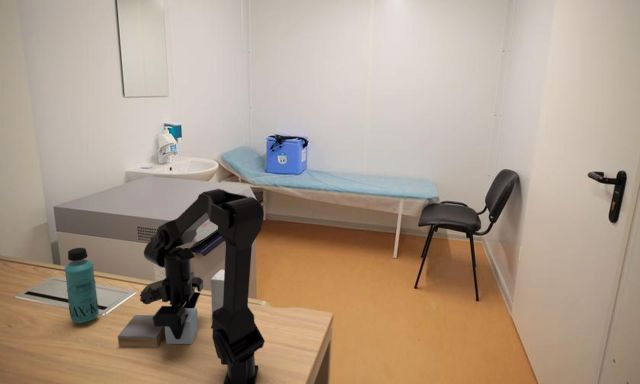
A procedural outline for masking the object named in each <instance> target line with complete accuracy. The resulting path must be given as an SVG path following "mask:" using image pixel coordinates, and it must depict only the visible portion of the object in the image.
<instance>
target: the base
mask: <svg viewBox="0 0 640 384" xmlns="http://www.w3.org/2000/svg"><path fill="white" fill-rule="evenodd" d="M154 315H155V314H154ZM154 315H153V314H134V315H133V316H132V318H131V319H130V320H129V321H128V323H127V324H126V325H125V326H124V327H123V329H122V330H121V331H120V333H119V334H118V335H117V341H118V348H132V349H133V348H141V349H143V348H144V349H158V348H159V346H160V344H161V343H162V341H163V340H164V338H166V336H165V327H162V326H154V325H153V316H154Z"/></svg>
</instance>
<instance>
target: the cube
mask: <svg viewBox="0 0 640 384" xmlns="http://www.w3.org/2000/svg"><path fill="white" fill-rule="evenodd" d="M184 309H185V310H186V314H188V317H187V320H186V323H185V327H184V330H183V333H182V336H181V338H180V339H175V337H174V335H173V333H172V331H171V329H170V327H165V344H167V345H192V344H193V342H194V340H195V338H196V335H197V334H198V332H199V317H198V315H199V313H198V308H196V307H195V308H184Z"/></svg>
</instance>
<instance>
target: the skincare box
mask: <svg viewBox="0 0 640 384" xmlns="http://www.w3.org/2000/svg"><path fill="white" fill-rule="evenodd" d="M224 273H225V269H220V270H219V271H217V272H216V273H215V274H214V275H213V277H212V278H211V279H210V289H211V290H210V294H211V295H210V296H211V315H212V314H213V311H215V310H217V309H219V308H221V307H222V306H223V295H224Z"/></svg>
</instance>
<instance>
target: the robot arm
mask: <svg viewBox="0 0 640 384" xmlns="http://www.w3.org/2000/svg"><path fill="white" fill-rule="evenodd" d="M264 215H265V214H264V207H263V205H262V204H261V203H260V201H258V200H257V199H256V198H255V197H252V196H247V195H244V194H240V193H238V194H237V193H233V192H229V191H227V190H225V189H221V188H215V189H211V190H207V191H203V192H201V193H200V194H198V196H197V198H196V199H195V201H193V202H192V203H191V204H190V205H189V206H188V207H187V208H186V209H185V210H184V211H183V212H182V213H181V214H180V215H179V216H178V217H177V218H175V219H173V220H169V221H166V222H165V223H163V224H161V225H159V226H158V228H157V230H156V234H155V235H153V236H150V241H149V242H148V243H147V244H146V246H145V248H144V250H143V256H144V258H145V260H147V261H149V262H151V263H153V264H154V265H156V266H158V267H159V268H164V274H165V275H164V276H165V278H163V279H160V280H158V281H154V282H151V283H149V284H147V285H146V286H145V287H144V288H143V289H142V291H140V294H139V296H140V299H139V300H140V302H142V303H143V304H144V305H151V304H152V303H155V302H157V301H160V300H161V302H162V303H168V302H169V305H162V306H160V307H159V308H158V309H157V311H156V312H155V313H154V316H153V325H154V326H162V327H170V329H171V331H172V333H173V335H174V337H175V339H180V338H181V336H182V333H183V330H184V327H185V323H186V320H187V317H188V314H186V310H185V309H184V308H196V306H197V302H198V301H199V298H200V296H201V292H202V291H203V288H204V279H202V278H201V277H200V276H198V277H197V276H196V277H195V273H194V272H192V267H191V266H192V265H191V260H192V259H195V258H196V256H195V253H193V252H192V251H191V250H190V248H189V247H186V248H184V247H181V246H184V245H187V244H191V243H192V242H193V241H194V240H195V238H196V236H197V235H198V232H197V230H198V229H199V228H200V227H201V226H202V225H204V224H205V222H207V221H209V222H210V223H212V224H214V225H216V227H217V231H218V233H219V235H220V237H221V238H222V239H223V241H224V242H225V252H224V253H225V255H224V256H225V257H224V270H225V273H224V295H223V306H222V307H221V308H219V309H217V310H215V311H213V314H212V313H211V321H212V322H211V326H210V329H211V330H212V335H211V337H212V341H213V344H214V349H215V353H216V355H217V359H219V360H220V364H221V365H224V366H225V365H227V366H226V367H227V371H226V374H225V378H224V380H223V384H256V382H257V377H258V374H259V365H258V364H256V362H255V361H256V358H255V357H256V356H255V352H257V351H258V350H261V349H262V348H263V347H264V345H265V341H266V340H265V338H264V337H263V334H262V333H261V331H260V329H259V328H258V326H257V324H256V323H255V315H254V313H253V312H252V309H250V307H249V292H250V291H249V290H250V289H249V288H250V277H251V275H250V274H251V266H252V265H251V264H252V248H253V243H254V242H255V240H256V239H257V237H258V236H259V234H260V233H261V230H262V227H263V226H262V225H263V222H264V217H265V216H264ZM195 288H197V289H195ZM196 290H197V292H196Z"/></svg>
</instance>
